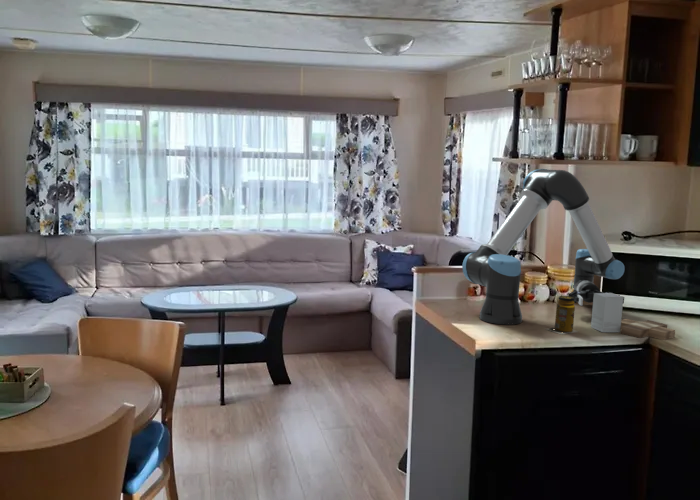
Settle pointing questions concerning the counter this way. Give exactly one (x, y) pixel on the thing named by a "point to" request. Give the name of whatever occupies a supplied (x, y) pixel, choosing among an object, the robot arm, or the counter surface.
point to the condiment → (564, 315)
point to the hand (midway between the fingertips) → (601, 303)
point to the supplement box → (607, 312)
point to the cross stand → (646, 329)
